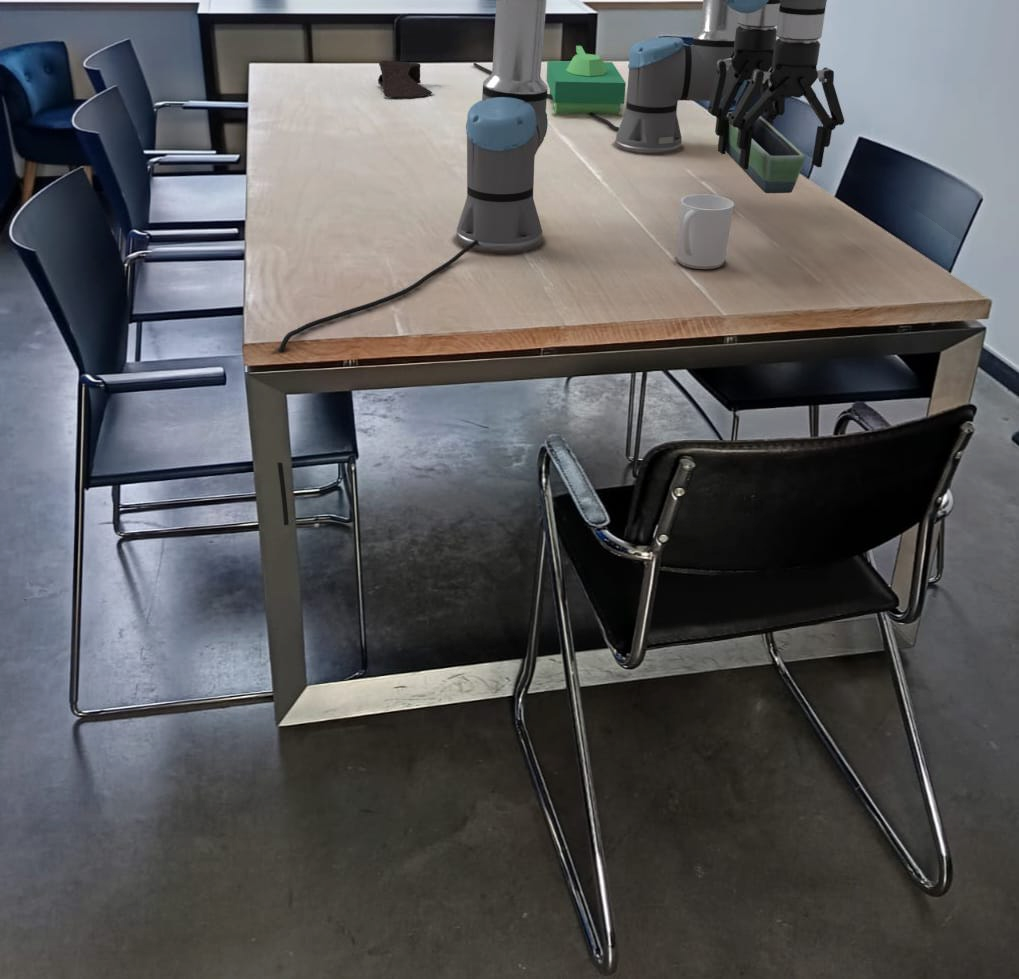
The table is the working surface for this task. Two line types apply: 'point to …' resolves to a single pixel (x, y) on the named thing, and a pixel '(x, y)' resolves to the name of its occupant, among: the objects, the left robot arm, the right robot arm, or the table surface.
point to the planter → (768, 157)
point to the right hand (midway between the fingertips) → (740, 151)
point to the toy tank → (585, 85)
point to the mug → (703, 230)
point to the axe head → (401, 79)
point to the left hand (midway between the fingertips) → (780, 166)
